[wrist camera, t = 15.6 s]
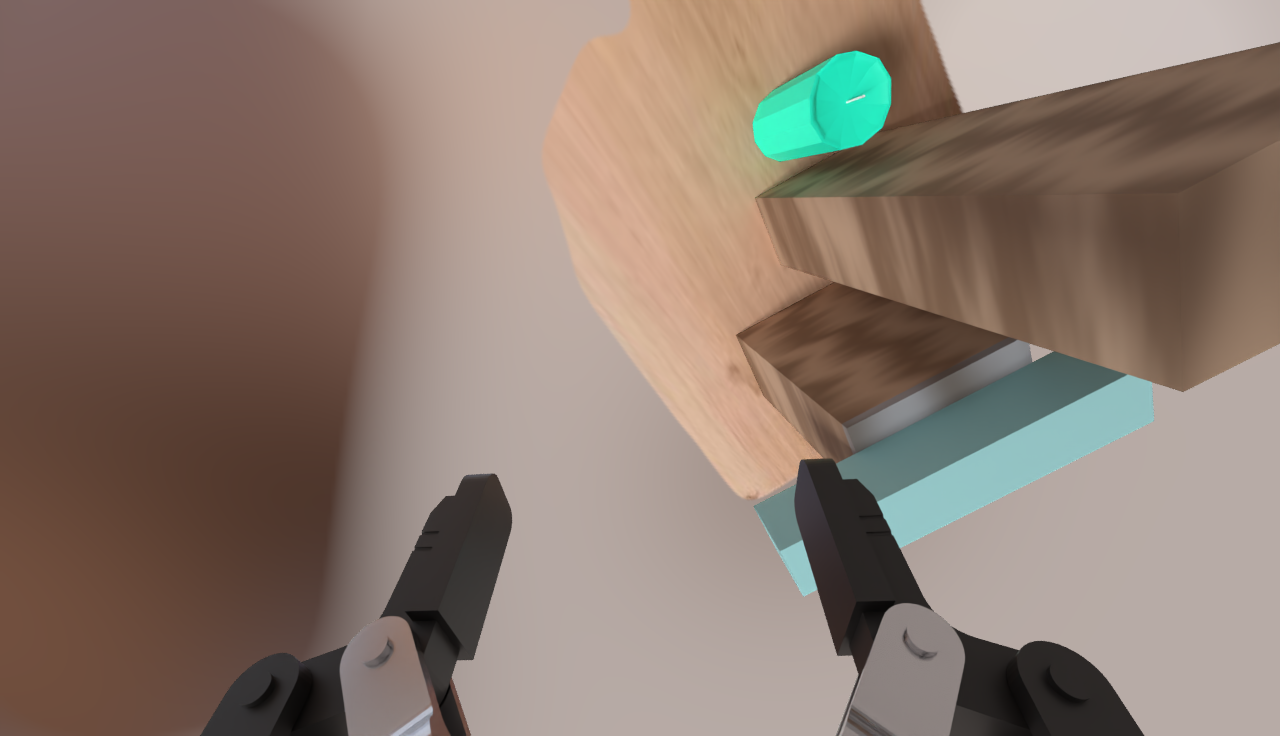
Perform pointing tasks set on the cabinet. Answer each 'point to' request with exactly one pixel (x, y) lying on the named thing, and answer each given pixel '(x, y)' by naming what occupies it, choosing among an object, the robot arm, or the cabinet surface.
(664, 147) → the cabinet surface
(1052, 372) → the batten
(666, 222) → the cabinet surface
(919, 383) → the brown wooden block
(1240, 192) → the stand
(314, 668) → the robot arm
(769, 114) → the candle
